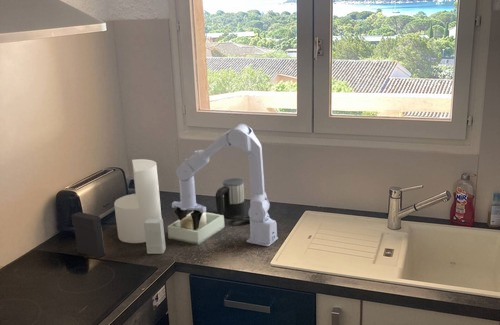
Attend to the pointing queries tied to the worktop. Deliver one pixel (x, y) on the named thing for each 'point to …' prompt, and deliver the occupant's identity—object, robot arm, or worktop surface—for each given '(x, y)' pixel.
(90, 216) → the calculator
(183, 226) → the beech block
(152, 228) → the skincare box
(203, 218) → the ivory cylinder
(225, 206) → the milk frother
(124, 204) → the white stepped cylinder
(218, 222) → the tote
